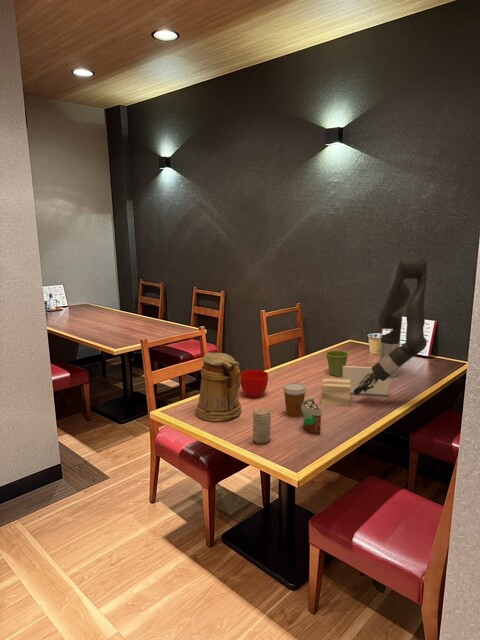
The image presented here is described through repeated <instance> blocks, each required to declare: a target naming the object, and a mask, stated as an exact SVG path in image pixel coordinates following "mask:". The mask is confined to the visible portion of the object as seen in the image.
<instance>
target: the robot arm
mask: <svg viewBox="0 0 480 640" xmlns="http://www.w3.org/2000/svg"><path fill="white" fill-rule="evenodd" d="M397 263H398V264H397V267H396V270H395V275H394V278H393V282H392V284H391V287H390V290H388V291H389V292H388V294H387V296H386V297H387V298H386V300H385V303H384V305H383V307H382V309H381V310H380V312H379V315H378V321H377V323H378V327H379V328H380V329H383V330H390V332H388V333H386V334H382V335H381V336H380V346H379V347H380V348H379V349H380V351H379V360H378V362H377V363H375V364H374V365H373V366H371V367H372V371H373V372H372V373H371V374H369V373H368V374H367V375H366V376H365V378H364V379H363V380H362V381H361V384H360V385H359V386H358V387H357V388H356V389H355V390H354V393H355V394H356V395H355V396H359V395H358V394H359V393H360V392H362V391H363V390H364V391H366V390H368V389H371V388H373V387H374V386H373V385H374V384H376V383H377V381H378V380H379V379H380V380H381V381H385V380H386V379H387V378H388V377H389V378H395V377H398V376H399V369H400V368H401V367H402V366H403V365H405V363H407V362H408V361H409V360H410V359H412V358H413V357H415V356H417V355H418V354H420V353H421V352H422V351H423V350H425V349H426V346H427V344H428V343H427V338H426V337H425V336H424V326H425V322H426V321H425V317H426V316H425V297H426V296H425V295H426V288H427V275H428V272H427V271H428V264H427V260H426V258H425V257H424V256H404V257H401V258H400V259H399V261H398V262H397ZM405 280H417V284H416V286H415V287H416V288H415V290H414V292H413V293H411V288H410V287H409V285H408V284H407V283H406V281H405ZM411 294H412V295H411ZM405 306H406V311H405V313H406V332H405V342H404V343H403V344H402V345H400V343H401V334H402V324H403V315H402V314H403V313H402V312H401V311H400V310H403V308H404V307H405Z"/></svg>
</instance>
